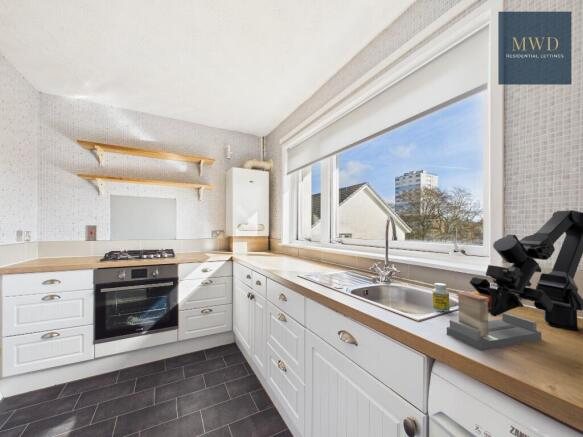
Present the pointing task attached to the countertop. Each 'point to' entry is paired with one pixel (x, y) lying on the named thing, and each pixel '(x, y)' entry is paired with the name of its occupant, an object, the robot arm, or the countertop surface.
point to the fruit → (484, 296)
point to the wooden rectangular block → (474, 311)
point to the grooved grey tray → (496, 332)
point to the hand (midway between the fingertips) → (492, 315)
